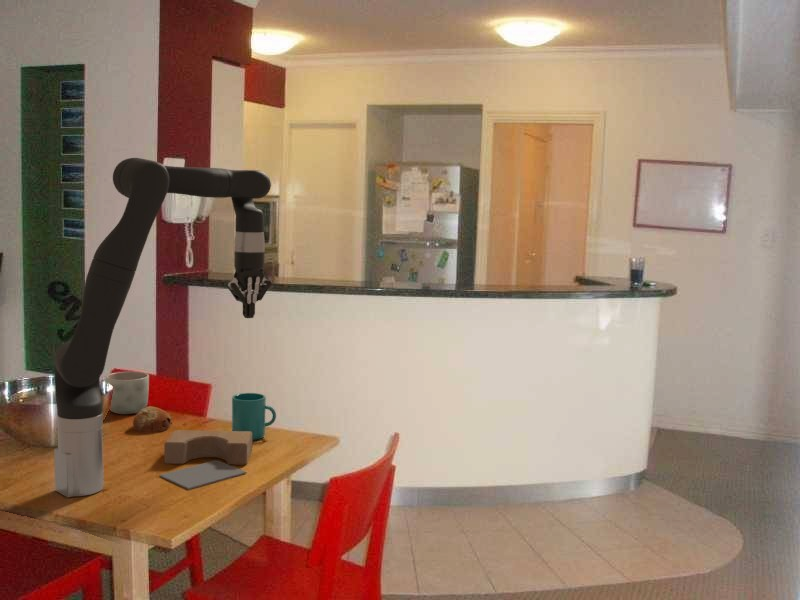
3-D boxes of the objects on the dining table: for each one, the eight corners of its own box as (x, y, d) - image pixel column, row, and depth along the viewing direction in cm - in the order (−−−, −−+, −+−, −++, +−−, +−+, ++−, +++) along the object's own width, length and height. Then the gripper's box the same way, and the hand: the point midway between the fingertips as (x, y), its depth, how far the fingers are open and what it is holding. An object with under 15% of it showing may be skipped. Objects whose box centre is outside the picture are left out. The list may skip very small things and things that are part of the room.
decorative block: (246, 443, 198) (163, 442, 197) (246, 466, 199) (164, 465, 198) (252, 430, 209) (174, 429, 208) (252, 451, 210) (174, 450, 209)
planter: (156, 407, 250) (156, 373, 248) (136, 418, 237) (136, 381, 236) (119, 404, 252) (119, 370, 250) (97, 414, 240) (97, 378, 238)
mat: (188, 489, 181) (188, 488, 181) (159, 476, 189) (159, 474, 189) (246, 473, 193) (246, 471, 193) (216, 461, 201) (216, 460, 201)
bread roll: (144, 435, 233) (131, 411, 232) (177, 420, 234) (165, 396, 232) (137, 445, 223) (124, 420, 222) (171, 430, 224) (158, 404, 222)
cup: (274, 441, 219) (275, 401, 218) (229, 441, 218) (229, 400, 217) (277, 432, 228) (277, 393, 227) (234, 431, 227) (234, 392, 226)
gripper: (237, 251, 197) (236, 322, 199) (279, 250, 206) (278, 317, 208) (218, 249, 202) (218, 318, 204) (261, 248, 211) (260, 314, 213)
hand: (248, 317), depth 206 cm, fingers closed
